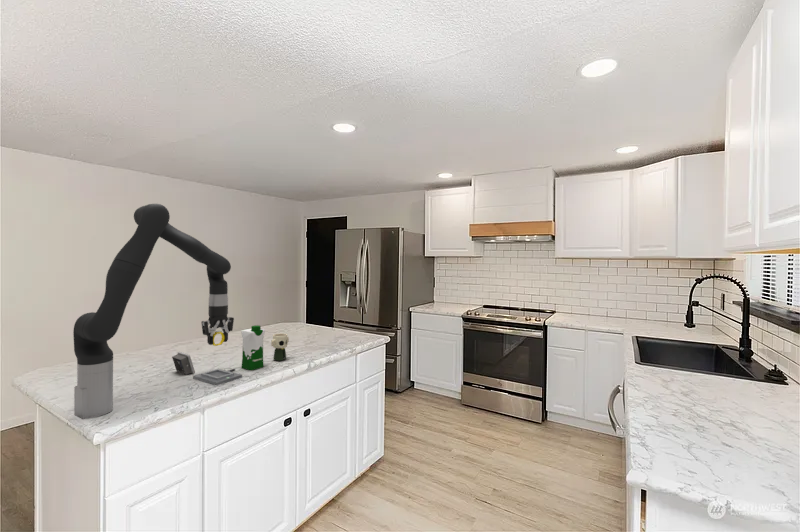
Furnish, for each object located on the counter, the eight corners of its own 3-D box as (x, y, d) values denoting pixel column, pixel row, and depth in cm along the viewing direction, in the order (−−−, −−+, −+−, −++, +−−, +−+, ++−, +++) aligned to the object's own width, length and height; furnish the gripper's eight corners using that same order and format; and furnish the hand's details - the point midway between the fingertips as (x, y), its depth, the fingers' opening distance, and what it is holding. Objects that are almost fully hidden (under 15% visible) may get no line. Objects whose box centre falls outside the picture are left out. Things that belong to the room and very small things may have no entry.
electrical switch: (195, 373, 165) (193, 353, 164) (183, 377, 160) (181, 357, 159) (184, 369, 170) (182, 350, 169) (172, 373, 165) (170, 353, 164)
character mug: (276, 363, 182) (276, 337, 182) (266, 361, 186) (266, 335, 185) (292, 358, 192) (293, 333, 191) (283, 356, 195) (283, 332, 195)
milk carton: (250, 371, 169) (251, 328, 169) (238, 368, 174) (238, 325, 173) (266, 366, 177) (267, 325, 176) (254, 363, 181) (254, 323, 181)
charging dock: (216, 385, 150) (216, 380, 150) (193, 378, 158) (193, 373, 158) (251, 374, 165) (251, 370, 165) (228, 368, 173) (228, 364, 173)
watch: (220, 343, 162) (221, 330, 162) (225, 344, 161) (226, 330, 161) (209, 346, 156) (210, 331, 157) (214, 346, 156) (215, 332, 156)
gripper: (208, 306, 150) (207, 347, 151) (238, 303, 163) (238, 341, 163) (196, 305, 154) (196, 345, 155) (227, 301, 167) (227, 338, 167)
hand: (217, 342), depth 159 cm, fingers closed on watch, 6 cm apart
